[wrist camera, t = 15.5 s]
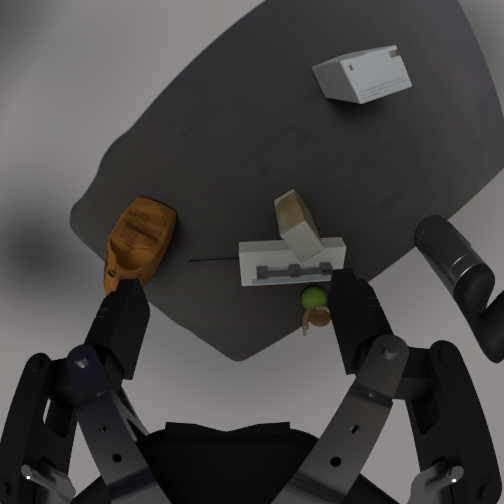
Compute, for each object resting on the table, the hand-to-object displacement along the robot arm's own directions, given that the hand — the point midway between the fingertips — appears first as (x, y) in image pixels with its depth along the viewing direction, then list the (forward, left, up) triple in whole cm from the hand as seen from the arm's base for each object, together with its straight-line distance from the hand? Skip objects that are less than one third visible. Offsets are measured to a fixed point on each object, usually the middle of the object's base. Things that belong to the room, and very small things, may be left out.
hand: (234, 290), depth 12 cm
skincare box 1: (-8, +15, -38) cm, 42 cm away
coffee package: (+19, +17, -38) cm, 46 cm away
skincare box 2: (-16, -9, -38) cm, 42 cm away
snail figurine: (-13, +36, -38) cm, 54 cm away
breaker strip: (-3, +26, -38) cm, 46 cm away
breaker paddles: (-8, +26, -35) cm, 44 cm away
